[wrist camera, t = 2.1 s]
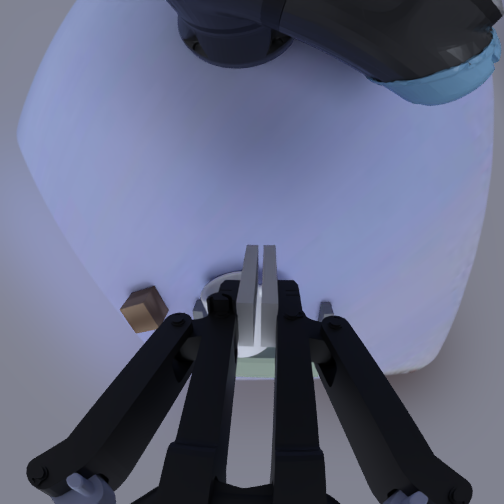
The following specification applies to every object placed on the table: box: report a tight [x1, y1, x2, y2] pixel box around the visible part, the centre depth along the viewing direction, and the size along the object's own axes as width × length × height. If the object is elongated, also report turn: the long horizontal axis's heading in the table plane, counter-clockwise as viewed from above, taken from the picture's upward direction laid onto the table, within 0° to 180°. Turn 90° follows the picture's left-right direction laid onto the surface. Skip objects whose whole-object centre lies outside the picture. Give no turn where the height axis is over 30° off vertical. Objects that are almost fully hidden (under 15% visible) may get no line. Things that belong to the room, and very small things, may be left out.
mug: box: [200, 271, 267, 358], centre depth 38 cm, size 12×10×8 cm
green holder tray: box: [193, 300, 334, 378], centre depth 43 cm, size 16×21×4 cm
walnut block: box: [120, 286, 169, 333], centre depth 41 cm, size 5×5×5 cm
